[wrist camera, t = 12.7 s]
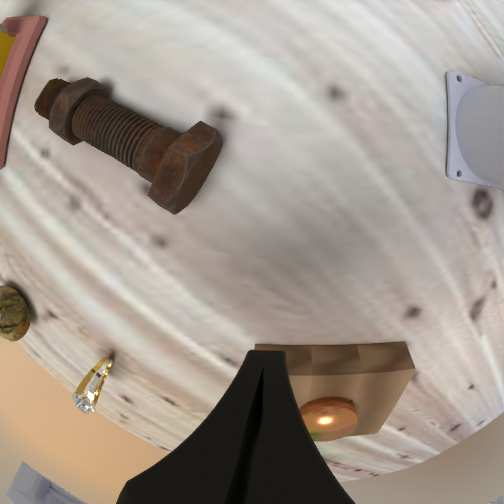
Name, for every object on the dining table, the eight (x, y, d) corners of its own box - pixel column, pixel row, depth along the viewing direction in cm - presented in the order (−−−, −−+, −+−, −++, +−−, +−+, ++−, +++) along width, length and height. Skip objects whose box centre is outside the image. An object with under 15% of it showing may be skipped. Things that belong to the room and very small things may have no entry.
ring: (116, 378, 30) (90, 424, 23) (96, 365, 30) (68, 408, 22) (127, 355, 27) (96, 408, 20) (104, 339, 27) (69, 389, 19)
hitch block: (404, 341, 22) (415, 368, 18) (373, 410, 27) (377, 433, 24) (255, 344, 23) (250, 373, 20) (259, 412, 29) (255, 436, 25)
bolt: (80, 88, 17) (221, 159, 18) (46, 135, 17) (181, 220, 18) (53, 51, 11) (223, 120, 13) (9, 107, 11) (164, 204, 12)
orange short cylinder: (349, 366, 23) (356, 409, 18) (354, 396, 25) (359, 435, 20) (291, 377, 24) (290, 420, 20) (303, 406, 26) (303, 444, 22)
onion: (0, 268, 26) (-36, 297, 18) (31, 289, 26) (-8, 325, 18) (11, 309, 29) (-19, 338, 22) (43, 330, 29) (12, 366, 22)
